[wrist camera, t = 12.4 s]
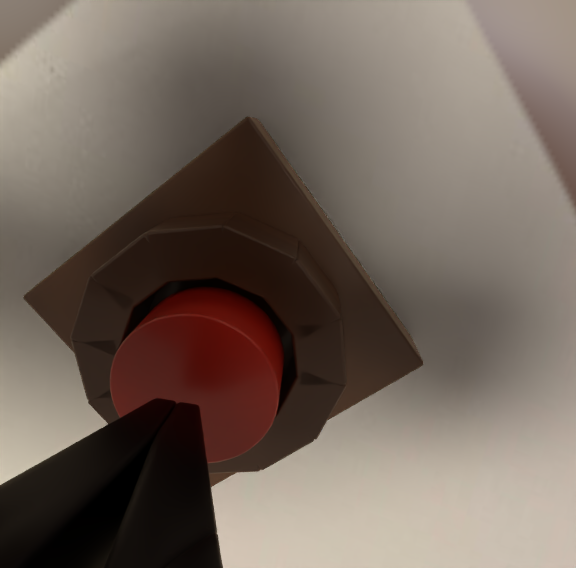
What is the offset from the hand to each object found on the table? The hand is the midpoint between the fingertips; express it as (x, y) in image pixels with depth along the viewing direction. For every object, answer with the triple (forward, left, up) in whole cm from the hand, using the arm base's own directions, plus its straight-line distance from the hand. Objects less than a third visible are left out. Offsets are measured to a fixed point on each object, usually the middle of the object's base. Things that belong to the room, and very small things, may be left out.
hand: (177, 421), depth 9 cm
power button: (0, 0, -3) cm, 3 cm away
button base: (0, 0, -6) cm, 6 cm away
